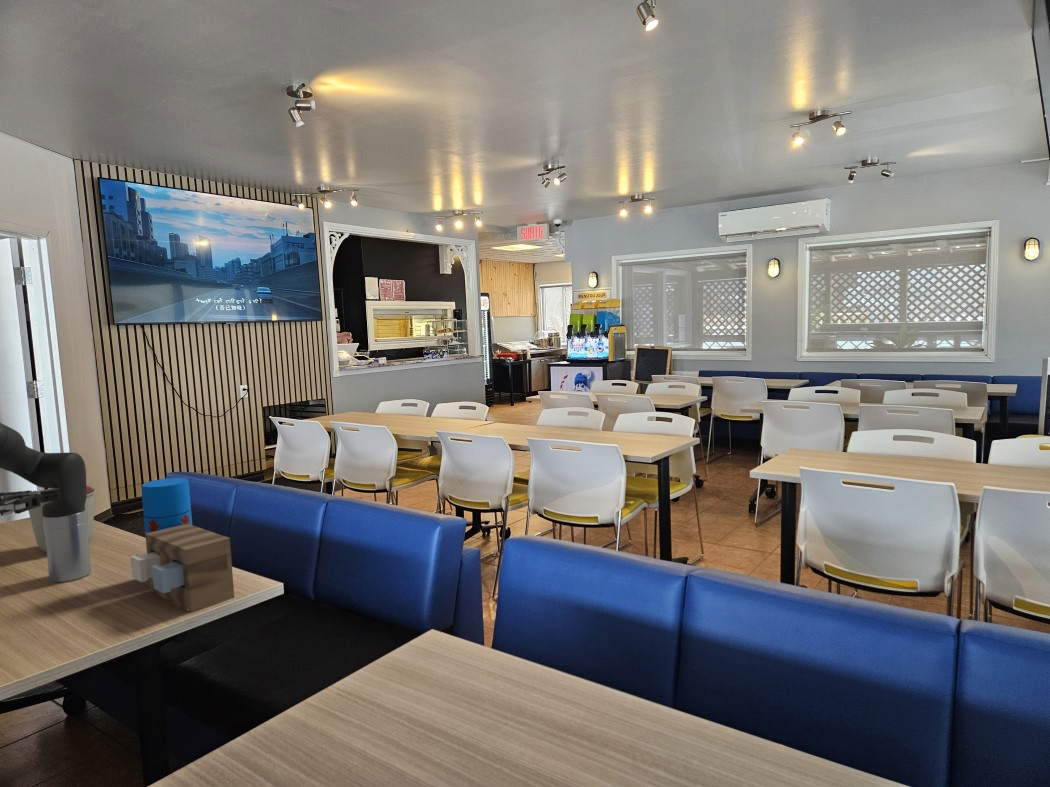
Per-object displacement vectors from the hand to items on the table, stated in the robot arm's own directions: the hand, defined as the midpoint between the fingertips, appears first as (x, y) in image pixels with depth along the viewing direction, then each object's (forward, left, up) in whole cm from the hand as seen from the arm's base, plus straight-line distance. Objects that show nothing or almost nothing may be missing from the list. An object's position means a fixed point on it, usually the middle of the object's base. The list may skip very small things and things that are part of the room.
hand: (61, 493), depth 137 cm
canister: (-71, +19, -30) cm, 79 cm away
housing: (+1, +24, -30) cm, 38 cm away
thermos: (-16, +27, -30) cm, 44 cm away
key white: (-5, +20, -25) cm, 32 cm away
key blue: (+7, +20, -25) cm, 33 cm away
